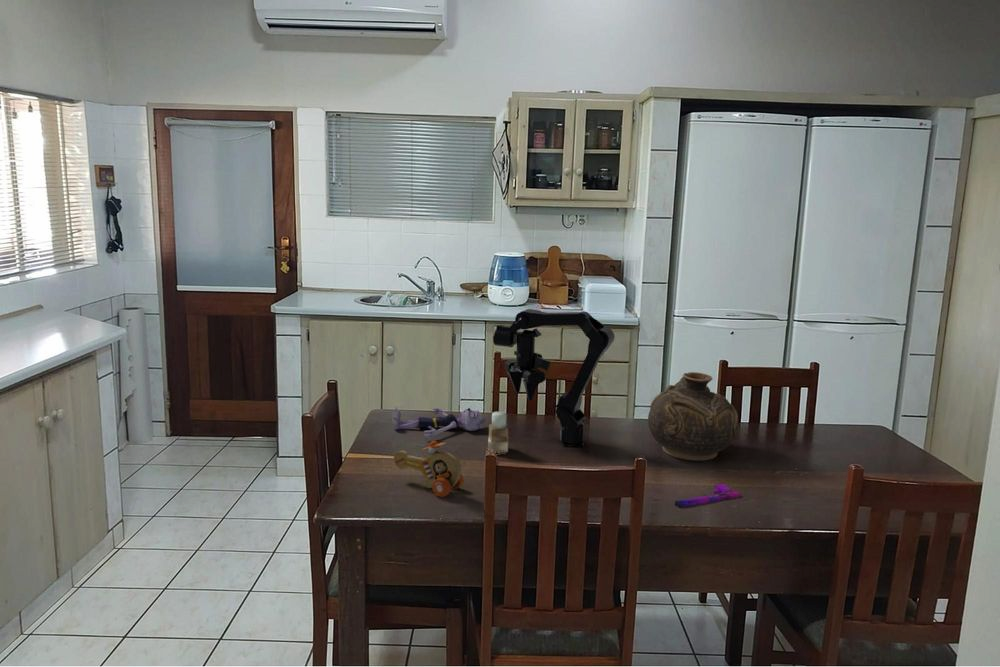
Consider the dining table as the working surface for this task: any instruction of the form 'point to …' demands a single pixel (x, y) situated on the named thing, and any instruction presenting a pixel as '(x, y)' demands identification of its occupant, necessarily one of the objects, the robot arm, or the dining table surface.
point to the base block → (498, 446)
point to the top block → (498, 434)
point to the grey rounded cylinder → (499, 420)
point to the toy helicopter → (434, 468)
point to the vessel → (692, 419)
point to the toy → (440, 421)
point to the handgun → (710, 496)
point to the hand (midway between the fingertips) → (523, 396)
